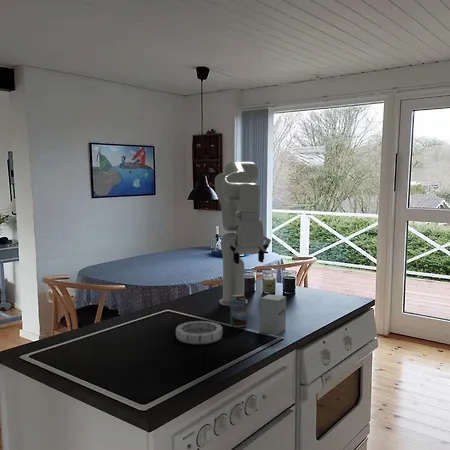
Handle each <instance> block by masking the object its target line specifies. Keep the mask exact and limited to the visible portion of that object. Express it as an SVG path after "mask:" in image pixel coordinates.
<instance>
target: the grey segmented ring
mask: <svg viewBox="0 0 450 450" xmlns="http://www.w3.org/2000/svg"><path fill="white" fill-rule="evenodd" d="M223 331H224V327H223V326H222V325H221V324H220V323H217V322H213V321H208V320H207V321H205V320H194V321H186V322H183V323H181V324H178V325H177V326H176V328H175V336H176V339H177V340H178V342H180V343H184V344H189V345H208V344H209V345H210V344H214V343H216V342H219V341H220V340H222V338H223V333H224V332H223Z"/></svg>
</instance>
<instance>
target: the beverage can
mask: <svg viewBox="0 0 450 450" xmlns="http://www.w3.org/2000/svg"><path fill="white" fill-rule="evenodd" d="M246 300H247V299H246V297H245V294H244V295H231V298H230V306H229V314H230V325H231V326H232V327H233V328H241V327H242V328H243V327H245V326H246V325H248V324H247V323H248V321H247V304H246Z"/></svg>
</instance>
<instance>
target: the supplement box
mask: <svg viewBox="0 0 450 450" xmlns="http://www.w3.org/2000/svg"><path fill="white" fill-rule="evenodd" d="M286 312H287V296H284V295H279V294H266V295H265V296H263V297H262V296H261V297H260V298H259V332H261V333H265V334H270V335H274V336H278V335H280V334H281V333H282V332H284V331H286V318H287V317H286V315H287V313H286Z"/></svg>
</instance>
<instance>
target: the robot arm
mask: <svg viewBox="0 0 450 450" xmlns="http://www.w3.org/2000/svg"><path fill="white" fill-rule="evenodd" d="M258 177H259V168H258V166H257V164H256V163H255V162H253V161H230V162H229V163H227V164H226V165H225V166H224V172H222V173H219V174H217V175H216V176H215V178H214V189H215V194H216V196H217V198H218V199H217V200H218V202H219V204H220V209H221V221H222V226H223V229H224V231H225V232H228V233H225V234H223V235H222V237H221V238H220V239H221V240H220V245H221V253H222V254H221V255H222V298H221V299H219V301H218V302H219V304H220V305H222V306H225V307H230V298H231V295H244V296H245V263H244V261H243V259H242V258H241V257H240V255H253V254H257V257H258V258H257V260H258V262H259V263H264V260H265V252H266V250H267V249H268V248H269V247H270V244H271V242H272V240H271V239H270V238H268V237H266V236H265V235H264V227H263V221H262V220H261V219H260V205H261V204H260V199H261V198H260V195H261V189H260V185H259V184H258V183H256V182H257V179H258ZM246 305H248V299H246Z"/></svg>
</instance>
